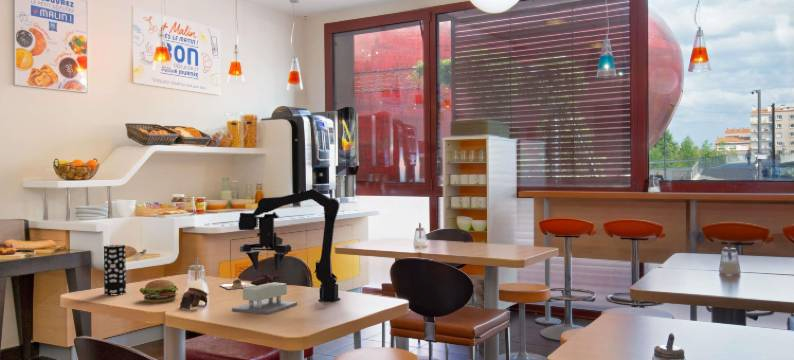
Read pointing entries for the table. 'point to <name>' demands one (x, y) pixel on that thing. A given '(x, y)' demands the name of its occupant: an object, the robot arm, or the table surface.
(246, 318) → the table surface
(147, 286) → the food
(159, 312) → the table surface
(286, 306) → the peg plate
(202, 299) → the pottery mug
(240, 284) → the dessert
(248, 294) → the shelf board
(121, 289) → the white-spotted black cylinder
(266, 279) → the icecream
